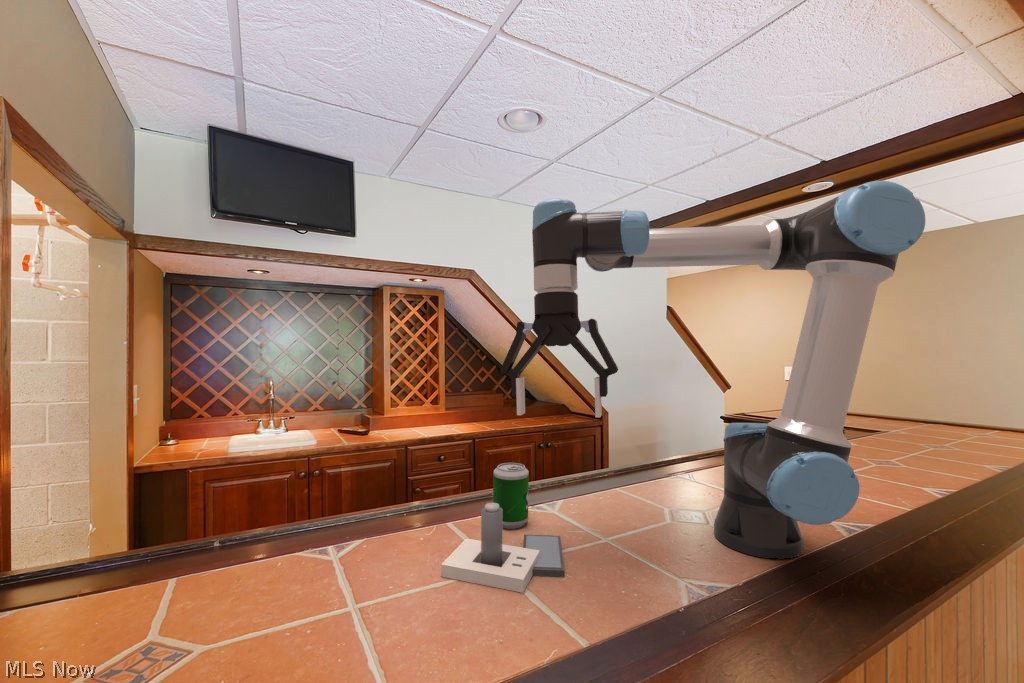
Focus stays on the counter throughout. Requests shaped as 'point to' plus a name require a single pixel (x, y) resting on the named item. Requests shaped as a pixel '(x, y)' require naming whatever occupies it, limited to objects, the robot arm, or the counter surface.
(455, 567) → the outlet
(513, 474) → the soda can
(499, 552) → the plug
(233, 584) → the counter surface
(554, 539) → the phone
